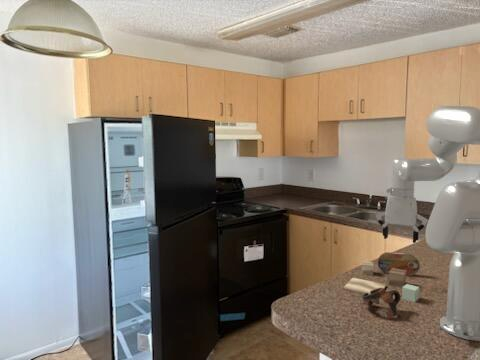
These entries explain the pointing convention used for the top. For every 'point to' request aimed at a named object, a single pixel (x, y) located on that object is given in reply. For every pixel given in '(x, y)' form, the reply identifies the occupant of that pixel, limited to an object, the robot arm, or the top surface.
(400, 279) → the walnut block
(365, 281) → the plate
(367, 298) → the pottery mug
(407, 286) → the sage block
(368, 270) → the maple block
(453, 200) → the robot arm
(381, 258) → the tin
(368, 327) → the top surface
